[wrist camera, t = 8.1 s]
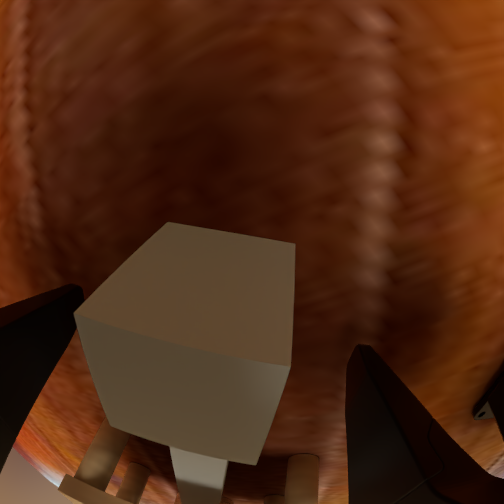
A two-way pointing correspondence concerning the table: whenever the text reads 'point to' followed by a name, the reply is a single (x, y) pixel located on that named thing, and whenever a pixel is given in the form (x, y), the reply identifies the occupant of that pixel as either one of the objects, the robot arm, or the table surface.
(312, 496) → the hinoki shelf
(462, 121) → the table surface
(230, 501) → the steel puck
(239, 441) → the gray hammer
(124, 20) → the table surface
